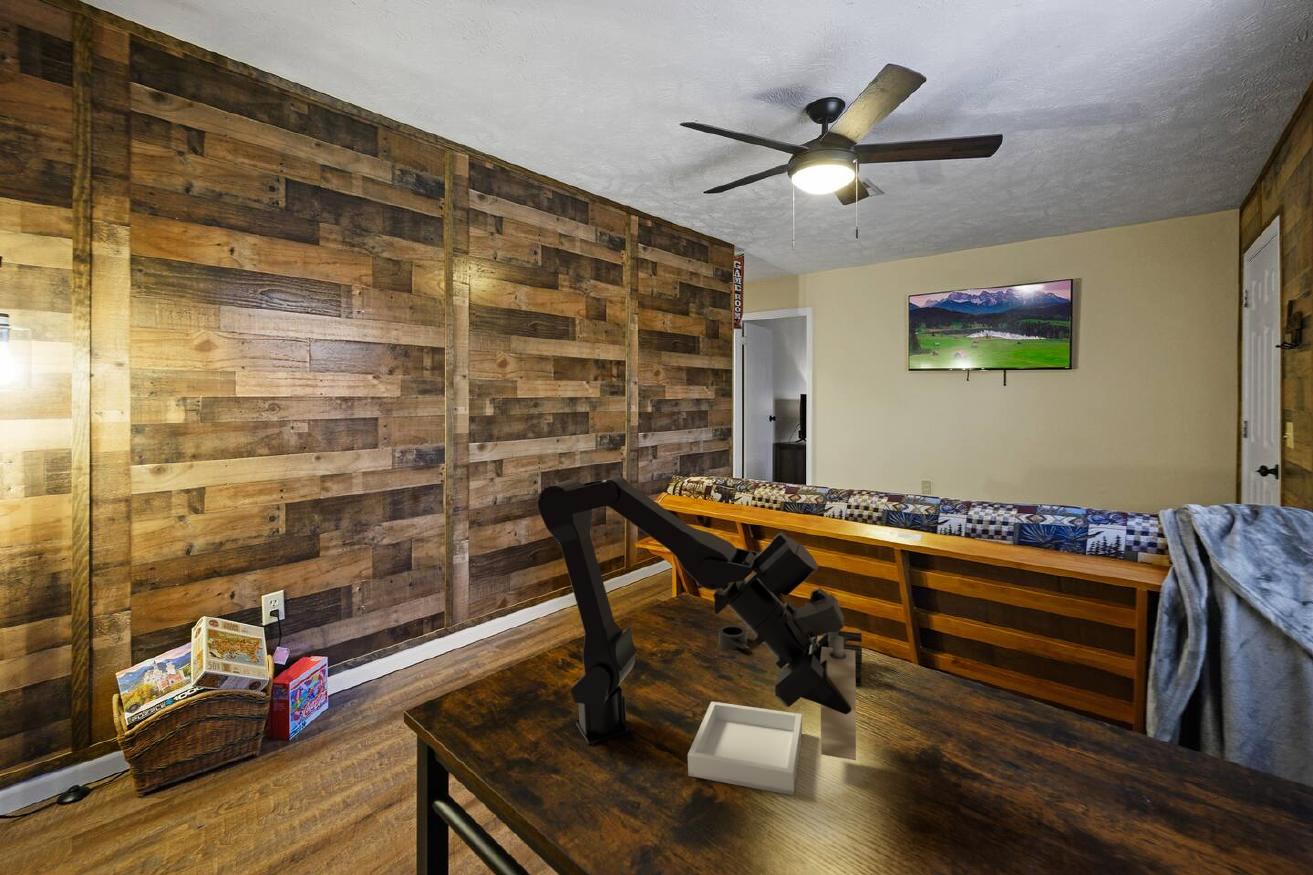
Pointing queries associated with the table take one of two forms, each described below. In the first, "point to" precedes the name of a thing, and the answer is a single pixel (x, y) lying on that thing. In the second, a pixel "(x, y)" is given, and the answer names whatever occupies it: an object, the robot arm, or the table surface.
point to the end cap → (858, 650)
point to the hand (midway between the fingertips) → (849, 702)
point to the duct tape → (733, 637)
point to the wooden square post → (834, 724)
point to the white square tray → (747, 747)
